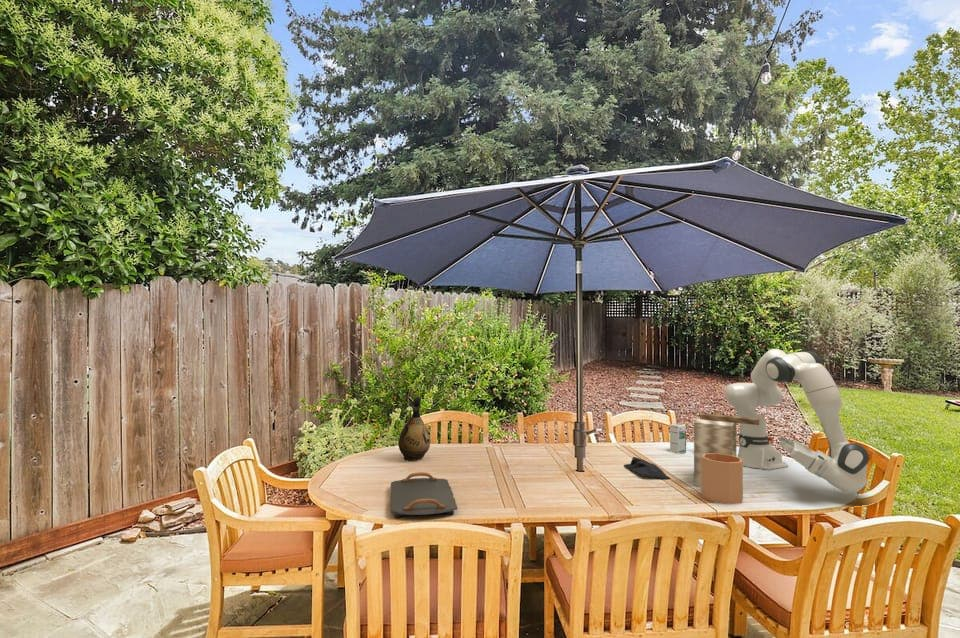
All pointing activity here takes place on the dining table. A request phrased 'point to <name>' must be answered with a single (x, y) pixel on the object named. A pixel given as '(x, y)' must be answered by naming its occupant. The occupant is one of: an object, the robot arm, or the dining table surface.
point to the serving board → (421, 496)
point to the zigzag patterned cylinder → (712, 441)
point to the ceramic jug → (414, 435)
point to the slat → (729, 419)
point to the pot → (722, 478)
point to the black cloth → (646, 469)
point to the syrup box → (678, 438)
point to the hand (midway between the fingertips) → (779, 439)
